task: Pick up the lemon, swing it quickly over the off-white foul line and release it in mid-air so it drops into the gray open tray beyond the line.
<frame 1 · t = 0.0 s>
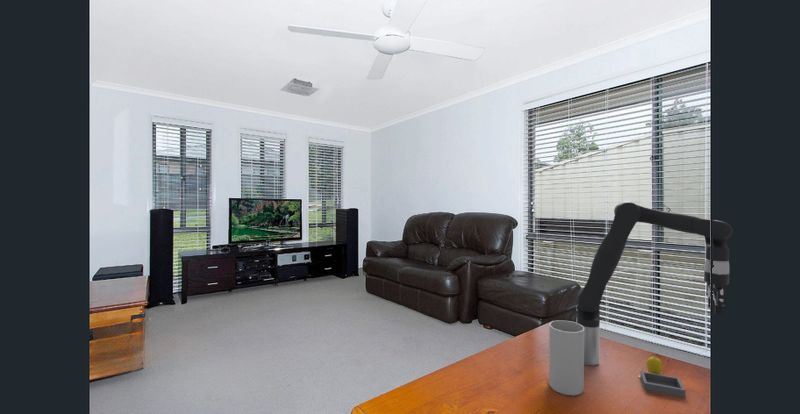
hand: (715, 311, 148), 29 cm above the table, fingers open, 8 cm apart
gray open tray: (661, 387, 147), on the table
foul line: (658, 380, 152), on the table
lemon: (654, 375, 156), on the table
cylinder vase: (565, 388, 148), on the table
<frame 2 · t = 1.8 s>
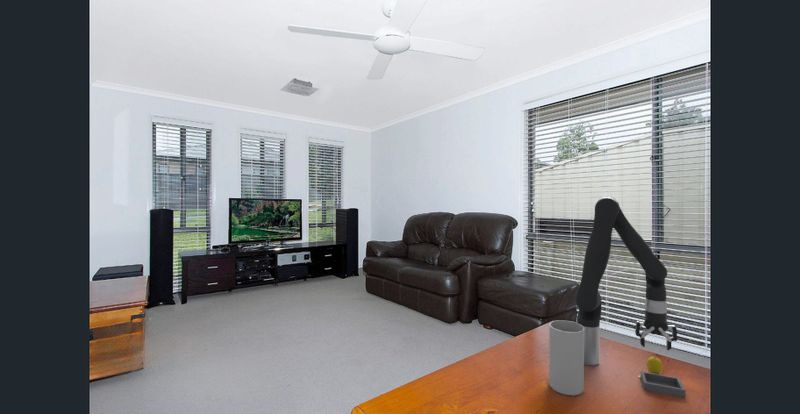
hand: (655, 347, 155), 12 cm above the table, fingers open, 8 cm apart
nothing on the table moved.
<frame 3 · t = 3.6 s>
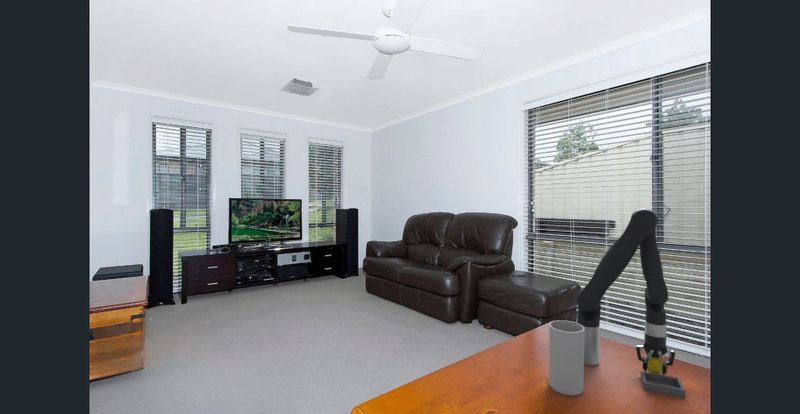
hand: (654, 372, 156), 1 cm above the table, fingers closed on lemon, 5 cm apart
lemon: (654, 375, 156), on the table, touching gripper
everything else where it was.
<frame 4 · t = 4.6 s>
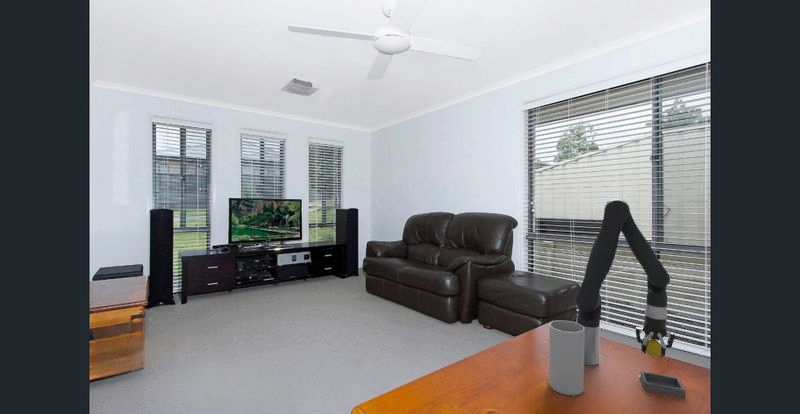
hand: (652, 354, 156), 9 cm above the table, fingers closed on lemon, 5 cm apart
lemon: (652, 357, 156), point 7 cm above the table, touching gripper
everything else where it was.
when the fingers open (13 cm above the table, at t = 5.8 s): lemon stays where it is, point 11 cm above the table.
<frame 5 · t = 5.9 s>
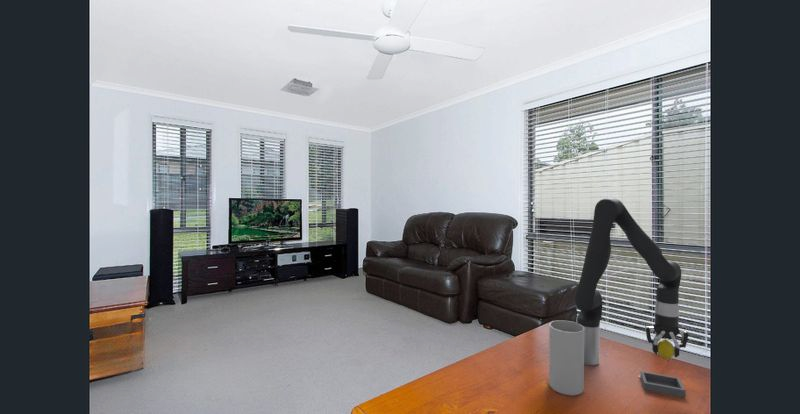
hand: (665, 354, 145), 13 cm above the table, fingers open, 5 cm apart
lemon: (665, 360, 146), point 11 cm above the table
everything else where it was.
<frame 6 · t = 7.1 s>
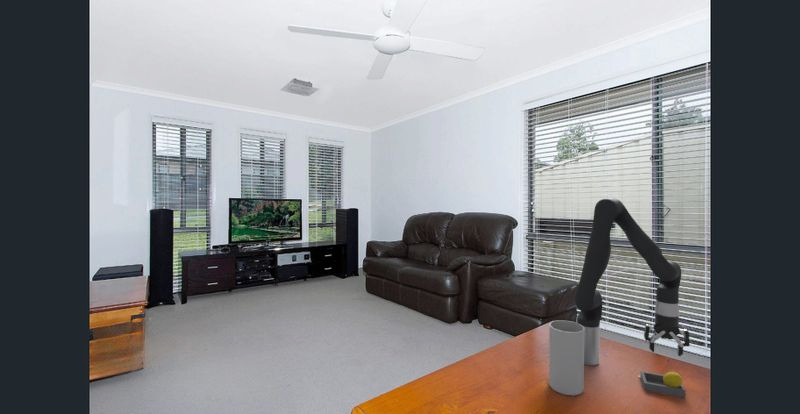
hand: (665, 353, 145), 14 cm above the table, fingers open, 8 cm apart
lemon: (666, 385, 146), point 1 cm above the table, touching gray open tray
everything else where it was.
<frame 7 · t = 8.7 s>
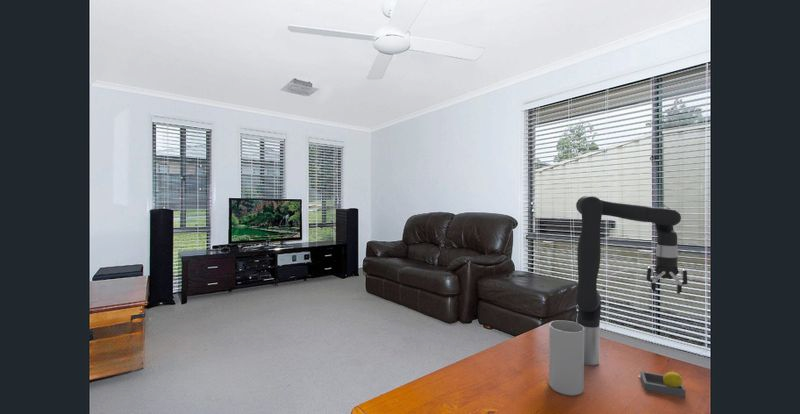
hand: (666, 292, 161), 33 cm above the table, fingers open, 8 cm apart
nothing on the table moved.
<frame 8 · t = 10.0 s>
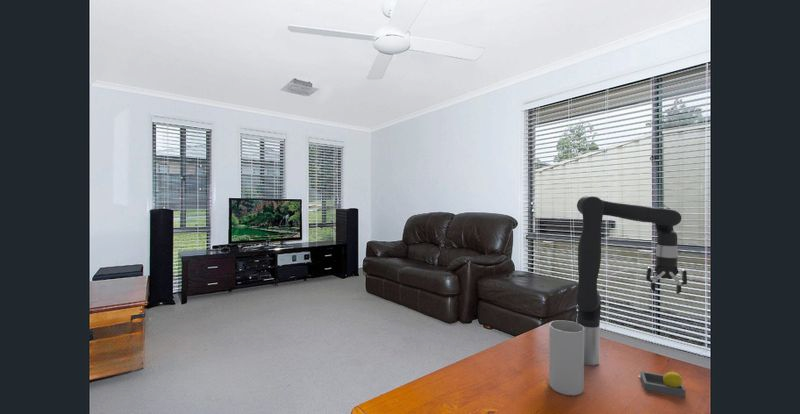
hand: (665, 292, 161), 33 cm above the table, fingers open, 8 cm apart
nothing on the table moved.
at the end: lemon inside the target area (1.7 cm from its centre), point 1.2 cm above the table; the gripper is holding nothing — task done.
